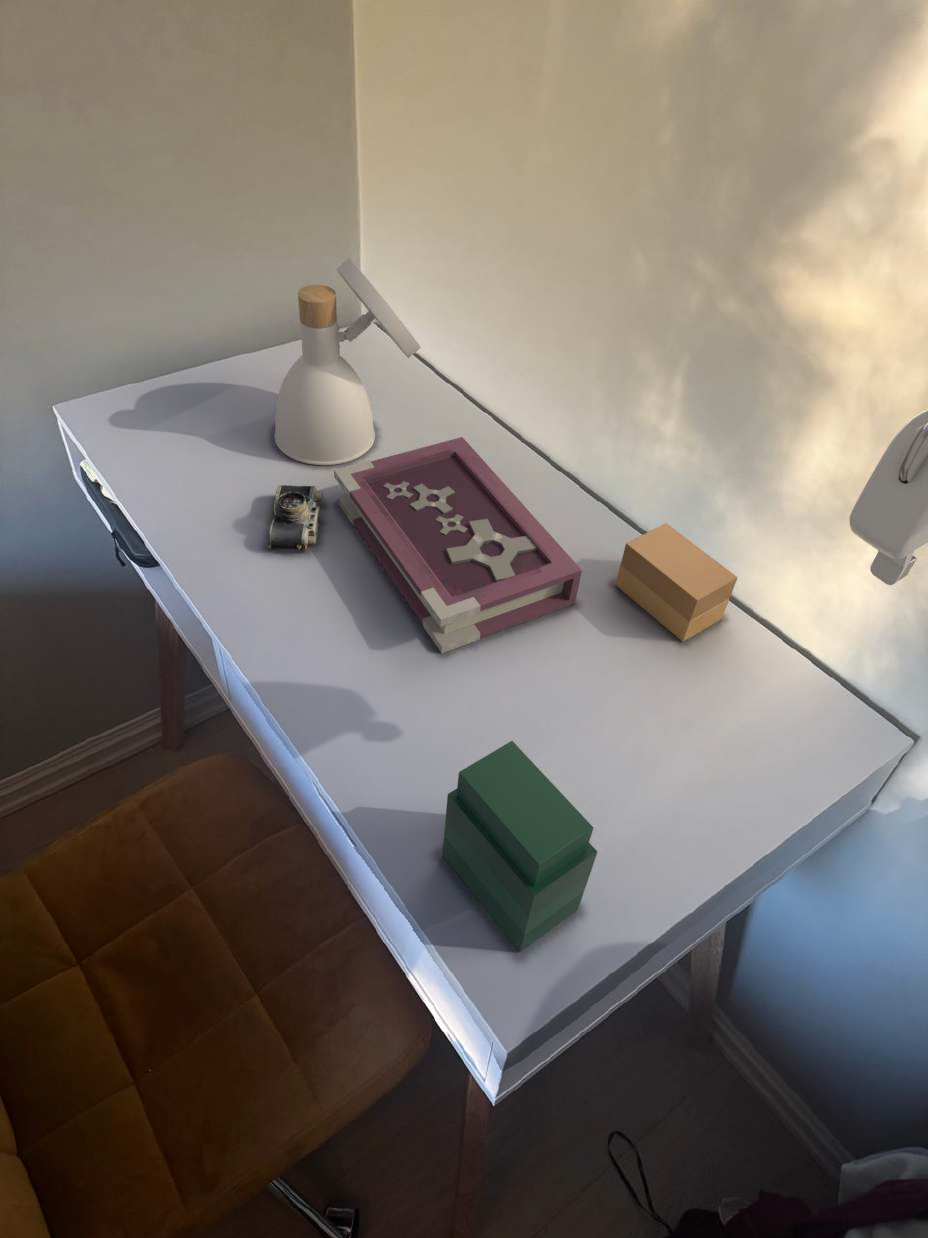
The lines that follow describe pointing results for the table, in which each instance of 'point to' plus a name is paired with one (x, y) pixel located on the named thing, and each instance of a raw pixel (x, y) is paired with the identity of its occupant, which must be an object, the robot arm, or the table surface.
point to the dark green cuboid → (523, 812)
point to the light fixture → (332, 377)
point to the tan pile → (675, 581)
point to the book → (457, 542)
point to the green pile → (511, 879)
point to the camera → (295, 517)
